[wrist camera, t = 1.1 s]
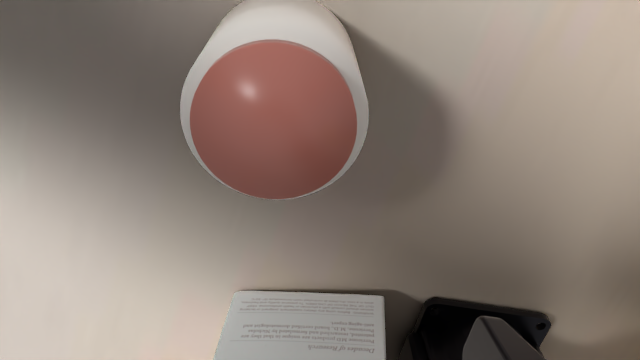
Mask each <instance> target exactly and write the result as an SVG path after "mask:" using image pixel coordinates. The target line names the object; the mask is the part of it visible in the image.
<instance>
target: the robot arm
mask: <svg viewBox="0 0 640 360" xmlns="http://www.w3.org/2000/svg"><path fill="white" fill-rule="evenodd" d="M432 308H437V309H434V310H432ZM539 323H540V324H539ZM550 327H551V323H550V321H549V319H548V317H547V316H546V315H545V314H542V313H536V312H529V311H522V310H515V309H509V308H502V307H495V306H488V305H481V304H474V303H467V302H460V301H453V300H446V299H439V298H431V299H429V300H427V301H426V302H425V303H424V305H423V307H422V310H421V312H420V315H419V317H418V320H417V322H416V325H415V327H414V330H413V332H411V333H410V334H409V335H408V336H407V338H406V340H405V343H404V345H403V348H402V350H401V353H400V356H399V358H398V360H546V359H545V358H544V357H543V355H542V353H541V351H540V349H539V346H540V345H541V343H542V341H543V339H544V338H545V336H546V334H547V332H548V331H549V329H550Z"/></svg>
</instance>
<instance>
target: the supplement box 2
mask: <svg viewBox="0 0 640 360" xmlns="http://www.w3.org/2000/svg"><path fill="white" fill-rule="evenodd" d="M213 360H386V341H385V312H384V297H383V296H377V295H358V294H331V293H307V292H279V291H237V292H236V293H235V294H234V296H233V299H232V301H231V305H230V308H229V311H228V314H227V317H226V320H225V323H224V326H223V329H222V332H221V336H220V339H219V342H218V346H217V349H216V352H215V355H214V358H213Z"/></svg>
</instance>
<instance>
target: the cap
mask: <svg viewBox="0 0 640 360" xmlns="http://www.w3.org/2000/svg"><path fill="white" fill-rule="evenodd" d="M180 118H181V126H182V129H183V133H184V137H185V139H186V141H187V144H188V146H189V148H190V150H191V152H192V153H193V155H194V157H195V158H196V159H197V161H198V162H199V163H200V165H201V166H202V167H203V168H204V169H205V170H206V171H207V172H208V173H209V174H210V175H211V176H213V177H214V178H215V179H216V180H218V181H219V182H220V183H222V184H224V185H225V186H227V187H228V188H230V189H233V190H235V191H237V192H239V193H242V194H245V195H248V196H251V197H256V198H260V199H268V200H287V199H295V198H300V197H304V196H307V195H310V194H313V193H316V192H318V191H320V190H322V189H324V188H326V187H327V186H329V185H330V184H332V183H333V182H335V181H336V180H337V179H339V178H340V177H341V176H342V175H343V174H344V173H345V172H346V171H347V170H348V169H349V168H350V167H351V165H352V164H353V163H354V161H355V160H356V158H357V157H358V155H359V153H360V151H361V149H362V147H363V144H364V141H365V138H366V135H367V130H368V123H369V108H368V100H367V96H366V92H365V88H364V84H363V81H362V77H361V74H360V70H359V67H358V63H357V60H356V56H355V52H354V49H353V45H352V43H351V40H350V37H349V35H348V33H347V31H346V30H345V28H344V26H343V25H342V23H341V22H340V21H339V19H338V18H337V17H336V16H335V15H334V14H333V13H332V12H331V11H330V10H328V9H327V8H326V7H325V6H323V5H322V4H320V3H318V2H317V1H315V0H245V1H243V2H241V3H240V4H238V5H237V6H235V7H234V8H233V9H232V10H231V11H229V12H228V13H227V15H226V16H225V17H224V18H223V19H222V21H221V22H220V24H219V25H218V26H217V28H216V30H215V31H214V33H213V34H212V36H211V38H210V39H209V41H208V42H207V44H206V45H205V47H204V49H203V50H202V52H201V53H200V55H199V56H198V58H197V60H196V61H195V63H194V64H193V66H192V68H191V69H190V71H189V73H188V75H187V78H186V80H185V83H184V86H183V89H182V94H181V100H180Z"/></svg>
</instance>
